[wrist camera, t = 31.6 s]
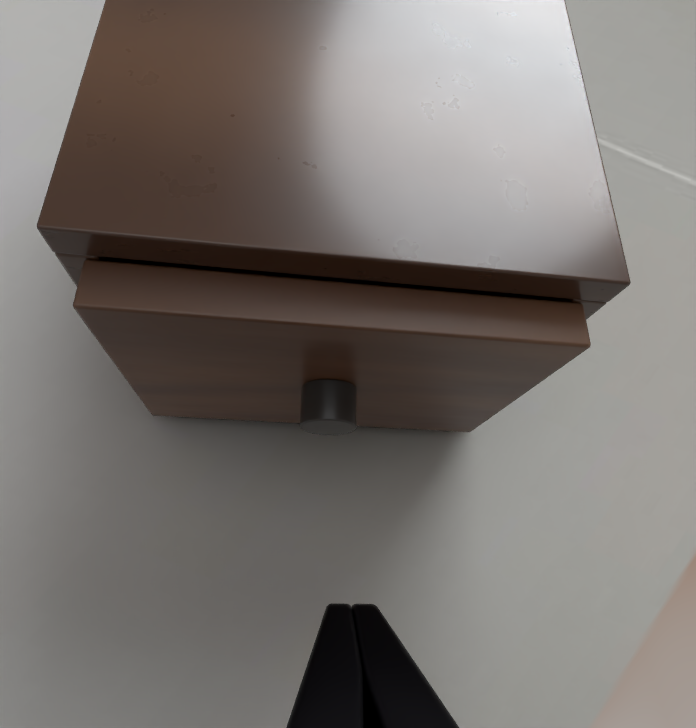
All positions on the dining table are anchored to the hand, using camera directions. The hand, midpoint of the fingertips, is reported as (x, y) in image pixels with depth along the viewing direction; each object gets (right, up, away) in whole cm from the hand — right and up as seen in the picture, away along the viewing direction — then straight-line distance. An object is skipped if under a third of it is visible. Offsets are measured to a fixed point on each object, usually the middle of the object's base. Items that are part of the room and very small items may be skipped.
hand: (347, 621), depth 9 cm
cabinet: (-1, +10, +14) cm, 17 cm away
